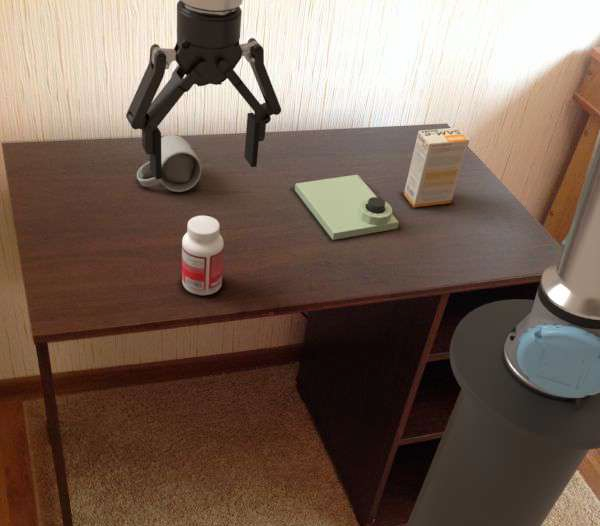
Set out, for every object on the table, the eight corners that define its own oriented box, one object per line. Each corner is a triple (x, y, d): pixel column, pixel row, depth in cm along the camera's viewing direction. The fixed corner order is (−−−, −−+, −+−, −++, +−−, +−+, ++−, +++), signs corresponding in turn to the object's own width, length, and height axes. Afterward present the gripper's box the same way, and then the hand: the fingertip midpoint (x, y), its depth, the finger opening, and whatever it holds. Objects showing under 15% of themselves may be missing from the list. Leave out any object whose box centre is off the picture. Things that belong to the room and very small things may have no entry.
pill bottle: (217, 270, 120) (219, 210, 112) (225, 294, 116) (229, 235, 108) (178, 273, 118) (178, 213, 110) (186, 298, 114) (186, 238, 106)
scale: (397, 228, 134) (400, 214, 132) (332, 240, 129) (335, 225, 127) (356, 181, 143) (358, 166, 141) (294, 190, 139) (296, 175, 136)
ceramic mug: (189, 166, 140) (188, 127, 134) (202, 190, 135) (202, 150, 129) (132, 172, 136) (129, 133, 131) (143, 197, 132) (141, 157, 126)
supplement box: (440, 190, 145) (458, 126, 135) (451, 204, 142) (471, 139, 132) (401, 194, 142) (417, 129, 133) (412, 208, 139) (430, 143, 130)
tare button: (386, 212, 132) (388, 205, 131) (371, 215, 131) (373, 207, 130) (378, 203, 134) (380, 196, 133) (363, 206, 133) (365, 198, 132)
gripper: (293, -14, 94) (276, 143, 109) (93, -6, 85) (105, 164, 100) (319, 11, 89) (298, 171, 105) (111, 21, 80) (121, 194, 96)
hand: (204, 167), depth 103 cm, fingers open, 13 cm apart
